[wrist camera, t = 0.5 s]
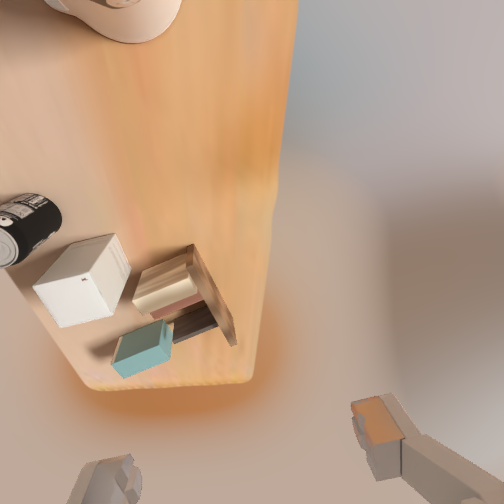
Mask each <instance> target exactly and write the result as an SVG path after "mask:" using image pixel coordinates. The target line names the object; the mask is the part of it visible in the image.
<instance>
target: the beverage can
mask: <svg viewBox="0 0 504 504" xmlns="http://www.w3.org/2000/svg"><path fill="white" fill-rule="evenodd" d="M61 223H62V216H61V213H60V211H59V209H58V207H57V206H56V205H55V204H54V203H53V202H52V201H51V200H49V199H48V198H46V197H44V196H41V195H37V194H24V195H21V196H19V197H17V198H15V199H13V200H11V201H9V202H7V203H4V204H2V205H0V269H1V268H5V267H8V266H11V265H15V264H17V263H19V262H21V261H22V260H24V259H25V258H26V257H27V256H28V255H30V254H31V253H32V252H33V251H34V250H35V249H37V248H38V247H39V246H40V245H41V244H42V243H44V242H45V241H46V240H47V239H48V238H49V237H51V236H52V235H53V234H54V233H55V232H57V231H58V230H59V228H60V226H61Z"/></svg>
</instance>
